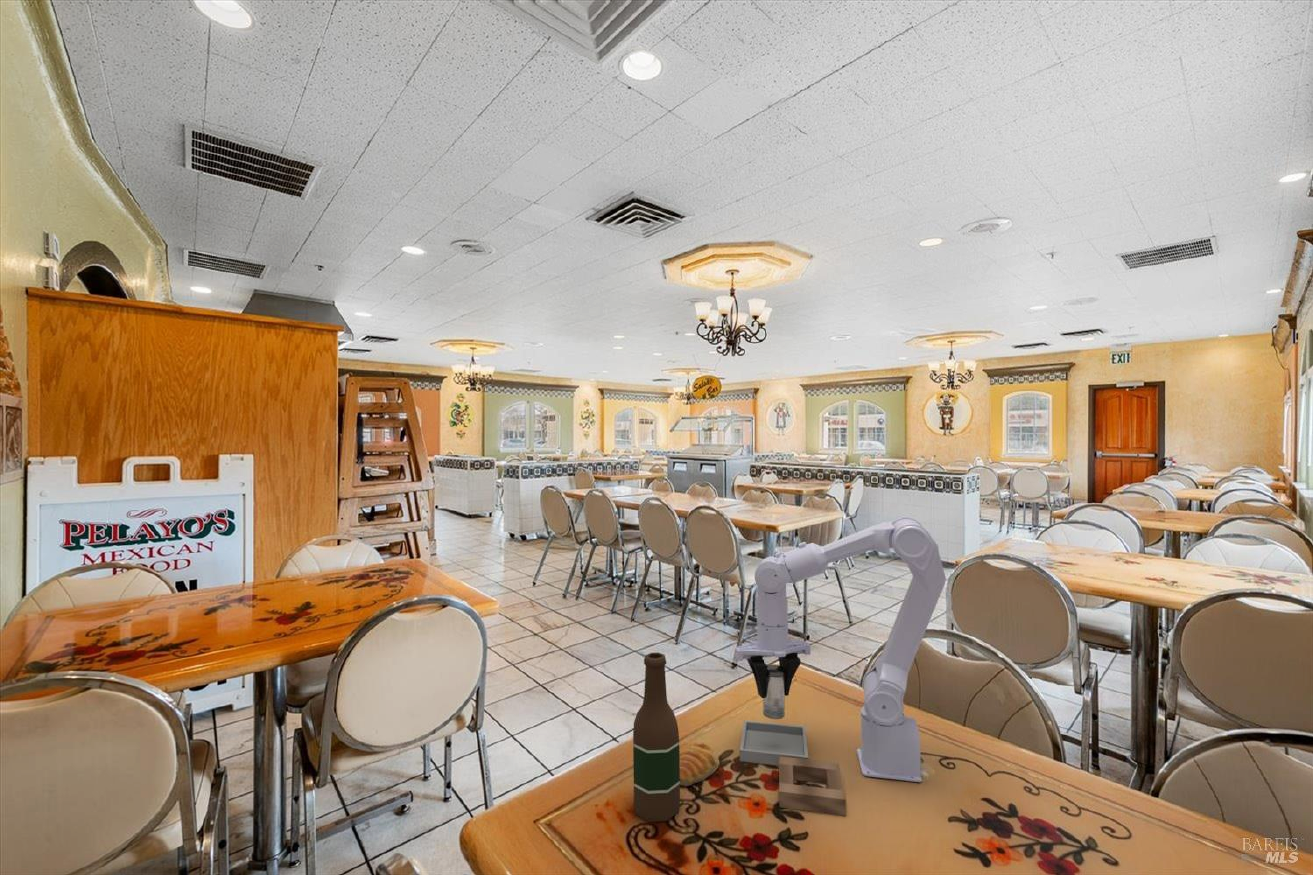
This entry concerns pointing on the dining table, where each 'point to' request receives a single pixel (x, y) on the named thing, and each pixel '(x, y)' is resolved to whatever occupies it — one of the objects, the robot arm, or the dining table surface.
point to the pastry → (697, 763)
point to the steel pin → (774, 692)
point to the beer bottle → (656, 748)
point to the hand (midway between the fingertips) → (773, 694)
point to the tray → (772, 742)
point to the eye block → (811, 796)
